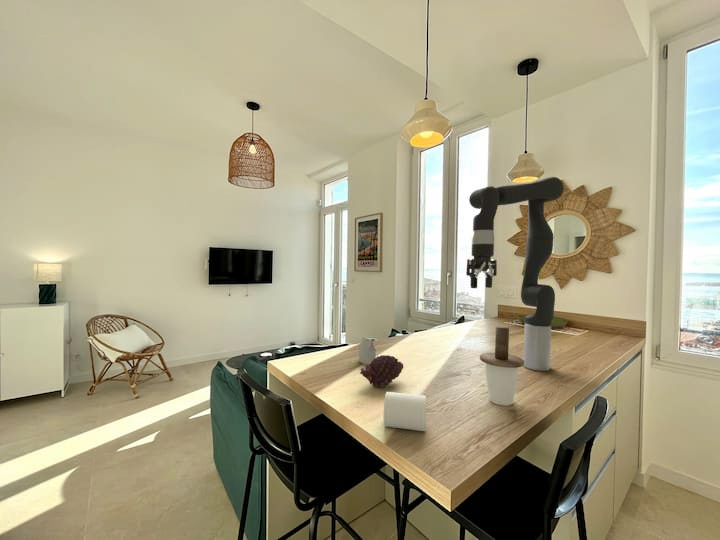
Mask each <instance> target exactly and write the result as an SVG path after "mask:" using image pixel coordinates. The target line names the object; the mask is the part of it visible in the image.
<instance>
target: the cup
mask: <svg viewBox="0 0 720 540" xmlns="http://www.w3.org/2000/svg"><path fill="white" fill-rule="evenodd" d="M484 371H485V379H486V388H487V397H488V398H487V399H488V400H489V401H490V402H491V403H493V404H495V405H498V406H503V407H504V406H506V407H507V406H511V405H513V403H514V400H515V393H516V389H517V383H518V378H519V367H518V368H506V367H499V366H494V365H490V364H487V363H485V367H484Z"/></svg>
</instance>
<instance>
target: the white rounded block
mask: <svg viewBox="0 0 720 540" xmlns="http://www.w3.org/2000/svg"><path fill="white" fill-rule="evenodd" d="M382 417H383V426H384V427H387V428H395V429H402V430H403V429H404V430H410V431H419V432H426V430H427V395H421V394H412V393H402V392H393V391H386V392H385V395H384V403H383V416H382Z"/></svg>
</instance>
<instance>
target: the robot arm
mask: <svg viewBox="0 0 720 540" xmlns="http://www.w3.org/2000/svg"><path fill="white" fill-rule="evenodd" d="M564 186H565V185H564V183H563V180H561V179H560V178H559V177H555V176H549V177H546V178H541V179H538V180H534V181H533V182H528V183H519V184H506V185H500V186H497V187H495V186H492V185H491V186H489V185H488V186H486V187H482V188H479V189H476V190H473V192H471V194H470V195H469V199H468V202H469V205H470V206H471V207H472V208H473V209H476V210H477V209H478V210H480V211H479V213H478V214H475V216H474V217H473V222H472V235H471V236H472V237H471V256H472V257H473V258H468V259H466V276H467V277H469V278H470V288H471V289H478V276H479V275H480V273H484V275H485V288H488V289H490V288H493V278H494V277H495V276H497V273H498V271H497V270H498V269H497V266H498V265H497V262H498V261H497V259H492V257H494V255H495V254H494V253H495V251H494V250H495V235H494V234H495V233H494V232H495V229H494V227H495V225H494V224H495V217H496V214H497V210H498V207H499V206H505V205H506V206H507V205H513V204H514V205H515V204H517V203H523V202H527V205H528V207H527V209H528V210H527V211H528V219H527V224H528V225H527V235H526V246H525V247H526V249H525V250H526V251H525V254H526V255H525V265H524V271H523V272H524V273H523V277H522V283H521V289H520V300H521V303H523V305H525V306H527V307H532V308H536V310H535V313H533V314H528V315H526V316H525V317H524V330H523V331H524V334H523V339H524V340H523V358H522V359H523V360H524V366H523V367H524V368H526V369H530V370H534V371H539V372H546V371H550V370H551V369H550V368H551V353H552V351H551V349H552V348H551V347H552V345H551V344H552V343H551V342H552V341H551V340H552V322H553V319H554V314H555V304H556V303H555V302H556V293H555V290H554V288H553V287H552V286H551V285H550V284H543V283H541V284H539V277H540V273H541V271H542V269H543V267H545V266H544V265H545V264H546V263H547V261H548V260H549V259H550V257H551V255H552V253H553V251H554V233H553V229H552V228H551V226H550V225H549V223H548V222H547V220H546V217H545V211H544V210H545V209H544V207H545V203H547V202H552V201H556V200H558V199H560V198H561V196H562V195H563V193H564V190H565V187H564Z"/></svg>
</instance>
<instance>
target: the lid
mask: <svg viewBox="0 0 720 540" xmlns="http://www.w3.org/2000/svg"><path fill="white" fill-rule="evenodd" d="M494 342H495V345H494V347H495V348H494V352H483V353H481V354H479V359H480V361H481V362H483V363H485V364H486V363H487V364H490V365H494V366H499V367H506V368H518V369H519V368H522V367H525V366H524V360H523V359H524V358H521V357H518V356H516V355H513V354H509V345H510V328H509V327H507V326H501V325H499V326H495V341H494Z"/></svg>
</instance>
